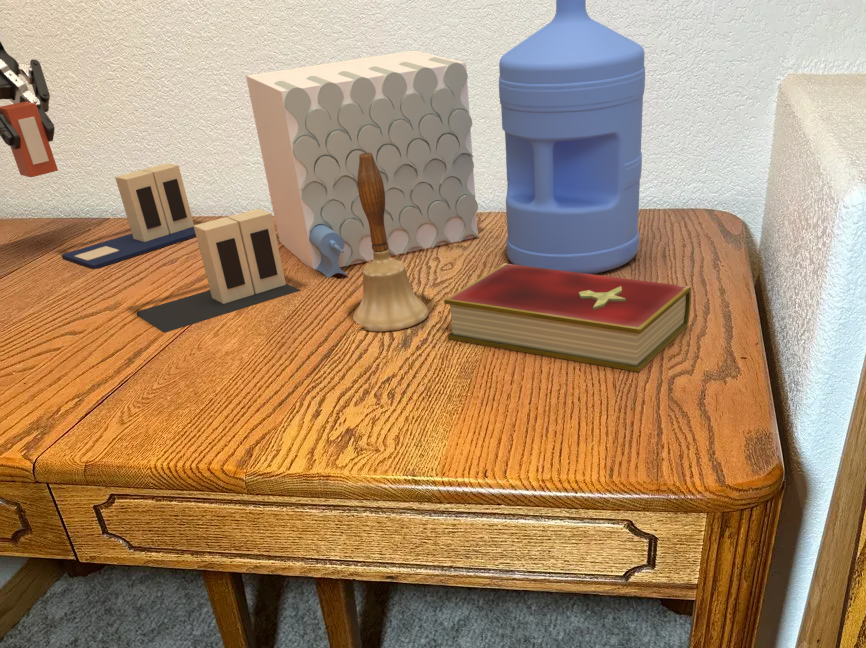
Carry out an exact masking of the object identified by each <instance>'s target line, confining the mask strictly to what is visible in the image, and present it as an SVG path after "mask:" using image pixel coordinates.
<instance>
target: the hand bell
mask: <svg viewBox="0 0 866 648" xmlns="http://www.w3.org/2000/svg"><path fill="white" fill-rule="evenodd" d="M357 184H358V192H359V197H360V201H361V205H362V208H363V210H364V212H365V215H366V217H367V219H368V222H369V227H370V234H371V243H372V249H373V255H374V259H373V260H370V261H369V262H368V263H367V264H366V265H364V267H363V268H362V280H363V281H362V282H363V283H362V296H361V300H360V302H359V306H358V307H357V309H356V310H355V311H354V313H353V314H352V315H353V316H352V320H353V321H354V322H355V323H357V324H358V325H360V326H362V327H360V328H359V329H360V330H362V331H363V330H364V331H368V332H376V333H377V332H378V333H380V332H381V333H383V332H395V331H400V330H404V329H408V328H411V327H415V326H417V325H418V324H421V323H422V322H424V321H425V320H426V319H427V318H428V317H429V313H430V310H429V308H428V307H427V305H426V304H425V303H424V302H423V301H422V300H420V299H419V298H418V296H417V295H416V294H415V292H414V290H413V289H412V286H411V283H410V281H409V277H408V274H407V269H406V266H405V264H404V263H403V262H402V261H401V260H399V259H395V258H393V257H392V256H390V251H389V248H388V243H387V237H386V232H385V226H384V211H385V191H384V185H383V180H382V177H381V174H380V172H379V169H378V167H377V165H376V163H375V161H374V158H373V155H372V153H363V154H360V155H359V169H358V178H357Z"/></svg>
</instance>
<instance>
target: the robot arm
mask: <svg viewBox="0 0 866 648" xmlns="http://www.w3.org/2000/svg"><path fill="white" fill-rule="evenodd" d="M20 75H21V76H23V78H24V79H25V80H26V82H27V84H29V85H31V86H32V90H33V92H32V91H31V90H30V89H29V87H28V85H27V84H26V82H24V80H22V79H21V78H20ZM50 99H51V95H50V91H49V88H48V85H47V81H46V78H45V75H44V72H43V69H42V66H41V62H40V61H39V60H37V59H31V60H30V61H29V63H24V62H23V63H22V62H18V61H17V60H16V59H15V58H14V57H12V56H11V55H10V54H9V53H7V51H6V49H5V47H4V45H3V43H2V41H0V101H1V100H9V101H10V102H11V104H16V103H21V102H31V103H36V106H37V109H38V112H39V115H40V118H41V121H42V124H43V127H44V130H45V133H46V136H47V139H48V142H49V143H50V142H54V136H55V124H54V123H53V121H52V120H51V118H50V117H49V115H48V114H47V113H48V112H49V110H50V106H49V105H50ZM0 138H1V140H3V142H4V144H5V145H7V146H9V147H10V146H12V147H13V149H19V148H20V147H21V138H20V136H19V134H18V133H17V131H16V130H15V129H14V127H13V126H12V125H11V123H10V122H9V121H8V119H7V118H6V116H5V115H4V113H3V114H1V113H0Z"/></svg>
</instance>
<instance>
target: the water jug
mask: <svg viewBox="0 0 866 648" xmlns="http://www.w3.org/2000/svg"><path fill="white" fill-rule="evenodd" d="M586 2H587V1H586V0H555V14H554V17H553V18H552V20H551V21H549V22H548V23H547V24H545V25H544V26H543V27H541V28H539V29H538V30H536V32H533V34H531V35H530V36H528V37H526V38H525V39H524V40H522V41H520V43H518V44H517V45H516V46H513V47H512V48H511V49H510V50H508V51H507V52H505V53H504V54H503V55H502V56H500V59H499V62H498V64H499V65H498V70H499V77H498V96H499V97H498V99H499V105H500V109H501V110H500V111H501V128H502V130H503V131H504V141H505V143H504V144H505V163H506V164H505V166H506V183H507V184H506V185H507V186H506V187H507V188H506V198H505V211H506V214H505V215H506V230H507V232H506V233H507V237H506V255H507V258H508V260H509V261H510V263H511V264H513V265H521V266H529V267H537V268H545V269H553V270H561V271H569V272H577V273H585V274H593V275H598V274H601V273H605V272H609V271H613V270H615V269H618V268H621V267H622V266H624V265H626V264H628V263H629V262H631V260H633V258H635V256H636V255H637V253H638V252H639V251H638V250H639V245H640V231H639V214H640V212H639V210H640V187H641V186H640V185H641V184H640V183H641V178H642V171H643V170H642V169H643V168H642V167H643V153H642V133H643V110H644V109H643V105H644V94H645V87H646V67H645V50H644V47H643V46H642V45H641V44H639V43H637V42H636V41H634V40H632V39H630V38H629V37H627V36H624V35H623V34H621V33H619V32H617V31H615V30H614V29H612V28H610V27H608V26H606V25H604V24H602V23H600V22H598V21H597V20H595V19H593V18H591V17H590V16H589V14H588V12H587V6H586V5H587V3H586Z"/></svg>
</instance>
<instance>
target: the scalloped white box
mask: <svg viewBox="0 0 866 648" xmlns="http://www.w3.org/2000/svg"><path fill="white" fill-rule="evenodd" d="M245 78H246V84H247V88H248V94H249V98H250V103H251V107H252V113H253V118H254V122H255V128H256V132H257V138H258V142H259V148H260V153H261V157H262V163H263V166H264V172H265V177H266V181H267V186H268V191H269V197H270V201H271V206H272V212H273V216H274V221H275V225H276V231H277V235H278V241H279V243H280V244H281V245H282V246H283V247H285V248H286V249H287V250H288V251H289V252H290V253H291V254H292V255H294V256H295V257H296V258H297V259H298V260H300V262H302V263H303V264H304V265H305V266H306V267H309V268H310V269H313V270H315V271H317V272H320V273H321V274H323V275H324V276H325V277H326V278H328V279H331V278H332V277H333V276H334V275H336V274H342V275H344V276H346V277H349V275H348V274H347V273H346V272H345V271H344V270H342V269H341V268H342V267H347V268H348V267H349V266H352V265H357V264H361V263H365V262H366V263H369V262H371V261H372V260H373V259H374V255H373V249H372V243H371V234H370V227H369V222H368V219H367V217H366V215H365V212H364V210H363V208H362V205H361V201H360V197H359V192H358V184H357V178H358V169H359V155H360V154H363V153H372V155H373V158H374V161H375V163H376V165H377V167H378V169H379V172H380V174H381V177H382V180H383V185H384V191H385V211H384V226H385V232H386V237H387V243H388V248H389V251H390V256H391V257H393V256H396V257H397V255H402V254H403V255H406V254H407V253H411V252H416V251H420V250H424V251H425V250H426V249H430V248H432V249H434V248H435V247H437V246H438V247H439V246H443V245H448V244H453V243H457V242H458V243H461V242H462V241H466V240H470V239H474V238H478V239H480V236H479V232H478V230H479V229H478V215H477V212H478V210H479V204H478V201H477V199H476V188H475V172H474V171H475V170H474V168H475V163H474V160H473V158H474V155H473V145H472V144H473V143H472V130H471V129H472V126H473V119H472V116H471V113H470V102H469V86H468V85H469V84H468V79H469V76H468V71H467V62H466V61H461V60H457V59H452V58H449V57H444V56H440V55H436V54H432V53H428V52H423V51H420V50H416V49H414V50H409V51H400V52H393V53H388V54H381V55H375V56H367V57H361V58H354V59H348V60H340V61H334V62H327V63H320V64H314V65H307V66H301V67H295V68H294V67H293V68H288V69H281V70H273V71H268V72H260V73H255V74H248V75H245Z"/></svg>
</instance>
